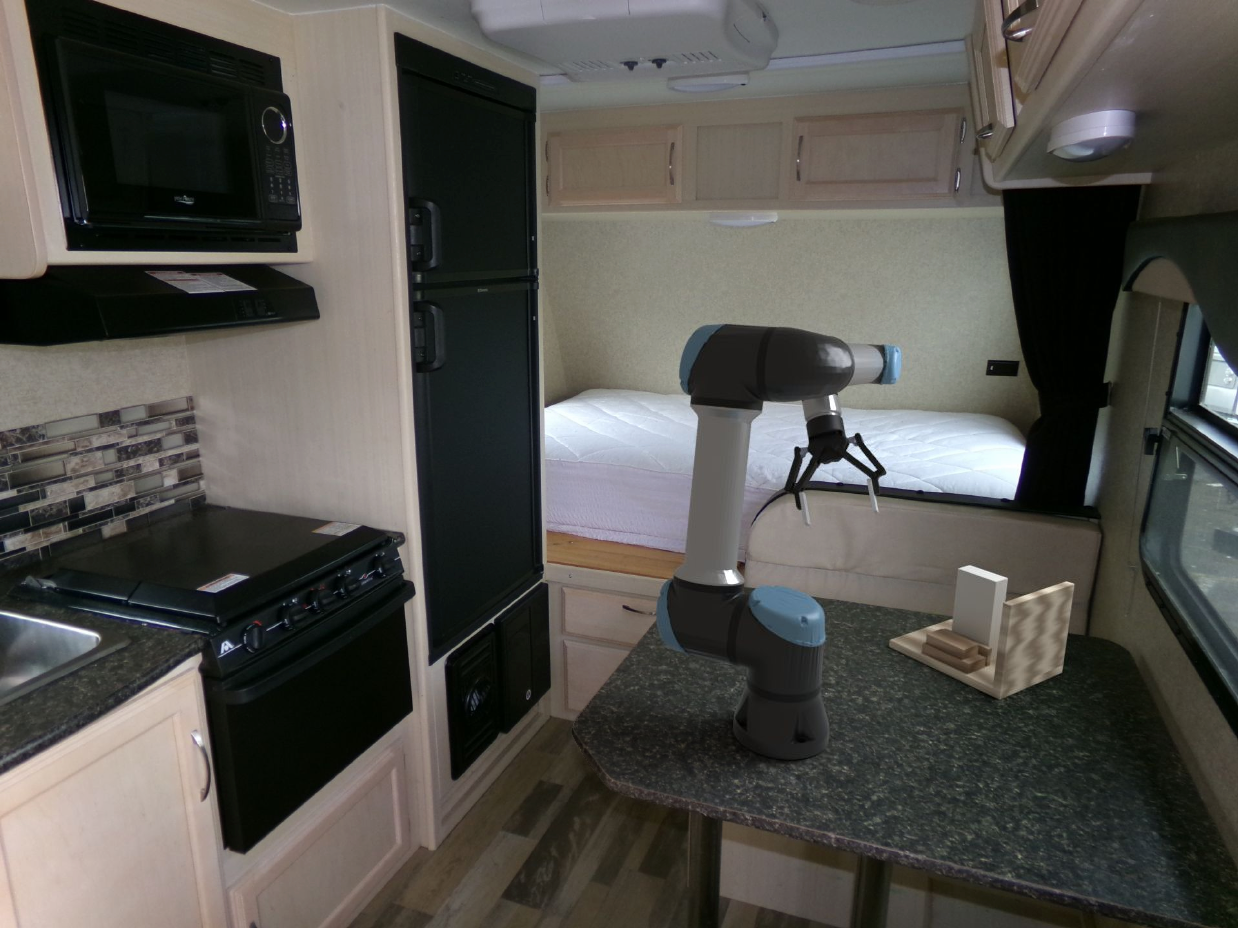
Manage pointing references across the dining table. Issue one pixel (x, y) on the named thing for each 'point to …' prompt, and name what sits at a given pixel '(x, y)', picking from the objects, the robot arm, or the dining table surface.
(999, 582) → the white block
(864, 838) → the dining table surface
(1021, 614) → the maple rack
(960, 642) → the walnut offcuts
